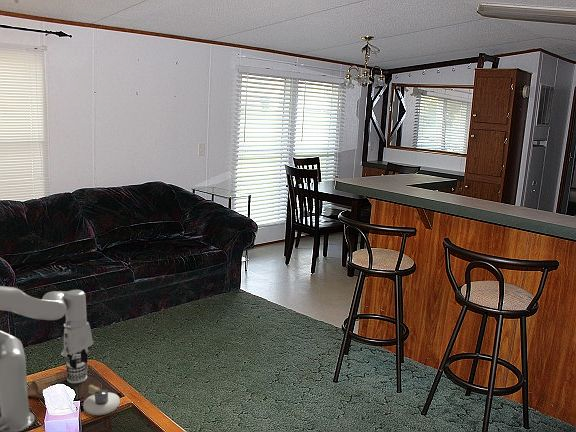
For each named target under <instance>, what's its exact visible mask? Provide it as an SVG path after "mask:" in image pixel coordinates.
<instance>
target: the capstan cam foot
mask: <svg viewBox="0 0 576 432" xmlns="http://www.w3.org/2000/svg"><path fill="white" fill-rule="evenodd" d="M87 387H88V389H87V390H88V394H91V396H92V395H94V396H95V403H96V404H97V405H103V404H106V403H107V402H108V392H109V391H108V390H107V389H101V388H100V387H98V386H96V385H94V384H89V385H88V386H87Z"/></svg>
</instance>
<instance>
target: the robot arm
mask: <svg viewBox="0 0 576 432" xmlns="http://www.w3.org/2000/svg"><path fill="white" fill-rule="evenodd" d="M86 299H87V298H86V293H85V292H84V291H83V290H81V289H71V290H68V291H67V290H65V291H63V290H62V291H55V290H53V291H49V292H46V293H45V294H44V295H43V296H42V299H41V298H38V297H37V298H36V297H34V296H31V295H29V294H27V293H25V292H24V291H22V290H21V289H19V288H17V287H13V286H4V285H0V311H4V312H5V311H7V312H12V313H14V314H17V315H19V316H23V317H27V318H29V319H30V318H31V319H35V320H45V321H57V320H59V319H61V318H63V317H65V323H63V327H64V329H65V330H64V329H63V332H64V333H63V349H62V351H61V354H60V356H63V357H65V358H67V357H68V358H69V361H70V367H72V368H74V369H75V368H77V364H76V359H75V353H77V352H79V351H81V350H82V352H81V361H82V362H84V363H87V364H88V354H89V352H90V351H89V350H90V349H91V347H92V345H94V344H95V343H94V342H95V341H94V340H93V335H92V330H91V326H90V323H89V321H87V320H88V318H87V300H86ZM67 351H68V353H67ZM71 354H72V355H71ZM28 388H29V387H28V379H27V361H26V354H25V350H24V346H23V343H22V341H21V340H20V339H19V338H17V337H16V336H14V335H11V334H10V333H7V332H5V331H3V330H1V329H0V415H1V416H0V432H22V431H25V430H27V429H28V428H29V426H30V427H31V426H32V425H33V424H34V423H35V418H36V417H35V415H34V413H33V412H30V403H29V401H30V400H29V398H28ZM33 422H34V423H33ZM26 428H27V429H26ZM24 429H25V430H24Z"/></svg>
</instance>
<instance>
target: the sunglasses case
mask: <svg viewBox="0 0 576 432" xmlns="http://www.w3.org/2000/svg"><path fill="white" fill-rule="evenodd" d="M53 385H54V384H48V383H44V382H43V383H42V382H37V381H32V382H31V383H30V385H28V386H29V387H27V388H28V397H31V398H30V399H33V398H36V399H35V400H38V399H41V400H40V401H43V400H44V399H43V393H42V391H43V389H46V388H48V387H50V386H53Z"/></svg>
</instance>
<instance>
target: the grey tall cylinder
mask: <svg viewBox="0 0 576 432" xmlns="http://www.w3.org/2000/svg"><path fill="white" fill-rule="evenodd" d="M64 330H65V328H64V329H63V331H64ZM81 352H82V350H81V351H79V352H77V353H75V359H76V364H77V368H75V369H74V368H72V367H70V361H69V358H68V357H66V364H65V365H66V366H65V367H66V370H65V371H66V380H67V382H68V383H70V384H79V383H83V382H85V381H86V380H87V379H88V369H87V367H88V366H87V364H88V363H84V362H82V361H81ZM67 353H68V351H67ZM71 355H72V354H71Z"/></svg>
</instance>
